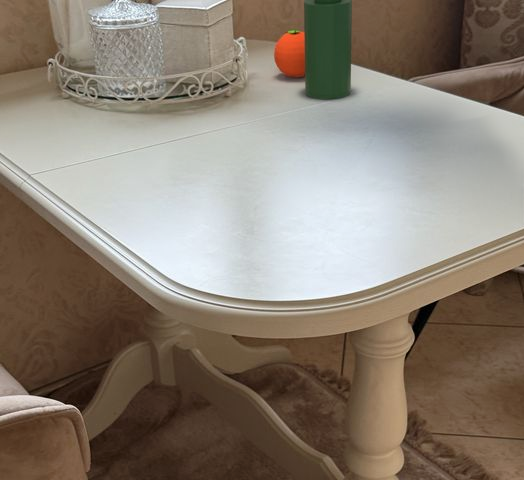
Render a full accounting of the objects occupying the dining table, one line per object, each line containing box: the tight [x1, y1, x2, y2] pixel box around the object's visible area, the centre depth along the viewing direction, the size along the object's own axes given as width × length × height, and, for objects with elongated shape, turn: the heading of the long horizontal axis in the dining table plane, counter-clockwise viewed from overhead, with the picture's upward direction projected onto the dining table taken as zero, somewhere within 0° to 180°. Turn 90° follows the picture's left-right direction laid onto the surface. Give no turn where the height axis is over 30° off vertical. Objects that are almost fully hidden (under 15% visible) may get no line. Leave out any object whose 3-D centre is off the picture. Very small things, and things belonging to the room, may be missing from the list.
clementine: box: [273, 29, 305, 78], centre depth 126 cm, size 8×7×7 cm
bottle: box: [303, 0, 353, 100], centre depth 115 cm, size 7×7×17 cm
